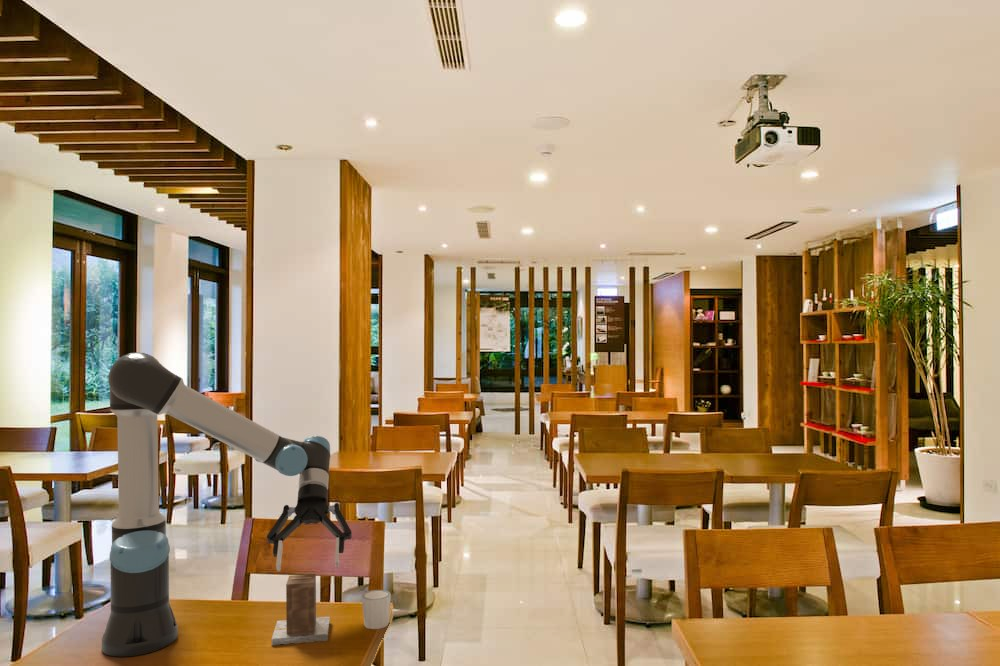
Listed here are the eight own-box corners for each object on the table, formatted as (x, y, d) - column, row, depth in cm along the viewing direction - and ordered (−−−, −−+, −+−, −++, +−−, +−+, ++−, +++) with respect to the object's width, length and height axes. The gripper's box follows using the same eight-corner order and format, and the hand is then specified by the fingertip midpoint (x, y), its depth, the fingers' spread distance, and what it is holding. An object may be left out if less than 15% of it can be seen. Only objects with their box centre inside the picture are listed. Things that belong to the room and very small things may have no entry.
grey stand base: (271, 645, 152) (271, 616, 152) (277, 627, 161) (277, 599, 162) (327, 640, 154) (327, 611, 154) (329, 622, 164) (329, 595, 164)
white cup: (384, 631, 159) (384, 600, 159) (357, 629, 160) (356, 598, 160) (395, 619, 165) (395, 590, 166) (368, 617, 167) (368, 588, 167)
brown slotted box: (286, 633, 154) (286, 583, 154) (289, 623, 160) (289, 574, 160) (314, 631, 155) (313, 581, 156) (316, 620, 161) (315, 572, 161)
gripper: (362, 495, 184) (361, 570, 170) (265, 500, 180) (255, 577, 165) (361, 480, 179) (360, 555, 164) (261, 484, 175) (251, 562, 160)
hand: (307, 566), depth 165 cm, fingers open, 13 cm apart
